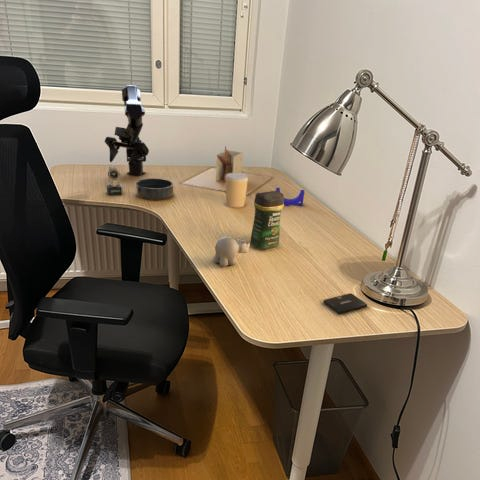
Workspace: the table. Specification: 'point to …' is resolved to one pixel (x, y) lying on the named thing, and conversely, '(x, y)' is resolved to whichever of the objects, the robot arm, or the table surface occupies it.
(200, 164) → the table surface
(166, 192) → the bowl
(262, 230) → the coffee jar
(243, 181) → the coffee cup
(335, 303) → the solid state drive
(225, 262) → the chubby cartoon animal
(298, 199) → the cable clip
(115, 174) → the watch
